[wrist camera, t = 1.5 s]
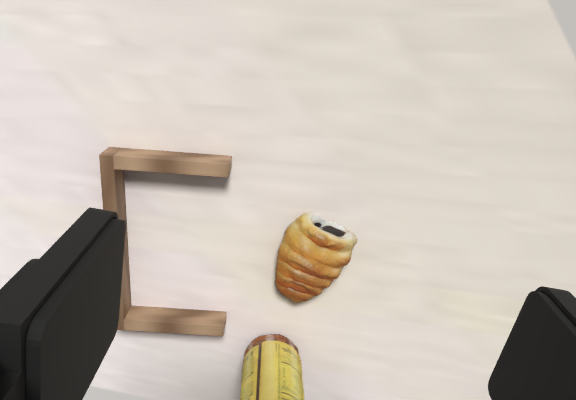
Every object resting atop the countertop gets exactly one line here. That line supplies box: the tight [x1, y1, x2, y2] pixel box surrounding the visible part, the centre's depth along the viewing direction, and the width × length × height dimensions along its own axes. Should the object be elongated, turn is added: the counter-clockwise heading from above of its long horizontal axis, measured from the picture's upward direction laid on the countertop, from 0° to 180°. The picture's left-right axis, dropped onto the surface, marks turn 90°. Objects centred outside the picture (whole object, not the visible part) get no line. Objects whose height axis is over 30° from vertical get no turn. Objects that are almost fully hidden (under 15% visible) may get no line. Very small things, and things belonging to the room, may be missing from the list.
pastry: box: [275, 213, 357, 303], centre depth 47 cm, size 9×7×4 cm
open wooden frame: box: [99, 147, 232, 336], centre depth 46 cm, size 11×18×2 cm, turn 176°
